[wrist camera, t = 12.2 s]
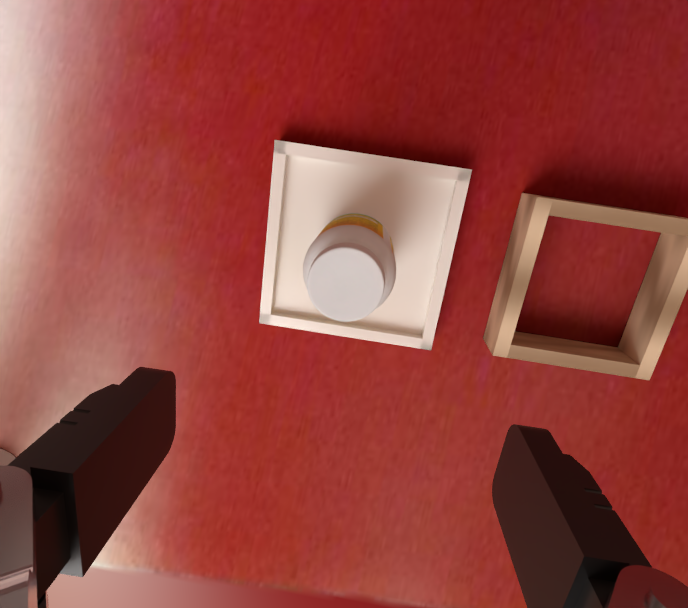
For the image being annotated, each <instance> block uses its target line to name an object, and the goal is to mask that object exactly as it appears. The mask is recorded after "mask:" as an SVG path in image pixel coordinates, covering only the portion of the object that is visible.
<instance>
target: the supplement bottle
mask: <svg viewBox="0 0 688 608" xmlns="http://www.w3.org/2000/svg"><path fill="white" fill-rule="evenodd" d="M303 277H304V282H305V285H306V288H307V290H308V294H309V297H310V299H311V301H312V303H313V305H314V306H315V307H316V308H317V309H318V310H319V311H320V312H321V313H322V314H323V315H325V316H327V317H328V318H331V319H333V320H337V321H342V322H350V321H356V320H359V319H362V318H364V317H366V316H368V315H369V314H370V313H372V312H373V311H374V310H375V309H377V308H378V307H379V306H380V305H382V304H383V303H384V302H385V300H386V299H387V298H388V296H389V295H390V293H391V291H392V289H393V287H394V283H395V279H396V262H395V256H394V249H393V243H392V240H391V237H390V235H389V233H388V231H387V229H386V228H385V227H384V226H383V225H382V224H381V223H380V222H379V221H378V220H376V219H375V218H373V217H370V216H368V215H364V214H359V213H349V214H344V215H341V216H339V217H337V218H335V219H333V220H332V221H331V222H329V223H328V224H327V225H326V226H325V228H324V229H323V230H322V231H321V233H320V234H319V235H318V236H317V238H316V239H315V240H314V241H313V243H312V244H311V245H310V247H309V249H308V251H307V253H306V256H305V259H304V263H303Z"/></svg>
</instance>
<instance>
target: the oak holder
mask: <svg viewBox="0 0 688 608" xmlns="http://www.w3.org/2000/svg"><path fill="white" fill-rule="evenodd" d="M548 215H551V216H557V217H564V218H570V219H577V220H583V221H590V222H596V223H603V224H609V225H616V226H623V227H629V228H636V229H642V230H649V231H655V232H661V235H660V237H659V240H658V243H657V245H656V248H655V250H654V253H653V256H652V258H651V261H650V264H649V266H648V269H647V272H646V274H645V277H644V280H643V282H642V285H641V287H640V290H639V293H638V295H637V298H636V301H635V303H634V306H633V309H632V311H631V314H630V317H629V319H628V322H627V324H626V327H625V330H624V332H623V335H622V338H621V340H620V343H619V346H618V347H612V346H606V345H599V344H593V343H587V342H580V341H574V340H568V339H561V338H555V337H549V336H542V335H536V334H530V333H523V332H517V331H515V329H516V325H517V322H518V318H519V315H520V311H521V308H522V304H523V301H524V298H525V294H526V291H527V287H528V284H529V280H530V277H531V274H532V270H533V267H534V263H535V260H536V256H537V253H538V250H539V246H540V243H541V239H542V236H543V232H544V229H545V226H546V222H547V219H548ZM687 289H688V218H684V217H678V216H671V215H665V214H658V213H652V212H645V211H638V210H632V209H625V208H619V207H612V206H605V205H599V204H592V203H586V202H579V201H573V200H566V199H559V198H553V197H546V196H540V195H533V194H527V193H522V195H521V199H520V202H519V206H518V210H517V214H516V217H515V221H514V225H513V229H512V232H511V236H510V240H509V244H508V247H507V251H506V255H505V259H504V262H503V266H502V270H501V274H500V277H499V281H498V285H497V288H496V292H495V296H494V300H493V303H492V307H491V311H490V315H489V318H488V322H487V326H486V330H485V333H484V337H483V339H484V341H485V343H486V344H487V346H488V348H489V350H490V351H491V353H492V355H494V356H500V357H506V358H513V359H519V360H525V361H531V362H538V363H544V364H550V365H557V366H563V367H569V368H575V369H582V370H588V371H594V372H601V373H607V374H613V375H620V376H626V377H632V378H638V379H645V380H650V378H651V375H652V373H653V371H654V368H655V366H656V363H657V361H658V358H659V356H660V354H661V351H662V349H663V346H664V344H665V342H666V339H667V337H668V334H669V332H670V330H671V327H672V325H673V322H674V320H675V318H676V315H677V313H678V310H679V308H680V306H681V303H682V301H683V298H684V296H685V293H686V291H687Z"/></svg>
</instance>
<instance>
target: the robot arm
mask: <svg viewBox="0 0 688 608" xmlns="http://www.w3.org/2000/svg"><path fill="white" fill-rule="evenodd" d="M175 428H176V379H175V375H174V373H173V372H171V371H165V370H159V369H152V368H145V367H139V368H137V369H136V370H135V371H134V372H133V373H132V374H131V375H130V376H128V377H127V378H126V379H125V380H124V381H123V382H122V383H121V384H120V385H115V384H112V385H109V386H107V387H105V388H103V389H101V390H99V391H96V392H94V393H92V394H90V395H89V396H88V397H86V398H85V399H84V400H83V401H82V402H81V403H79V404H78V405H77V406H76V407H75V408H74V410H73V411H70V412H69V413H68V414H67V415H65V416H64V417H63V418H62V419H61V420H60V423H56V424H55V425H54V426H53V427H51V428H50V429H49V430H48V431H47V432H46V433H44V434H43V435H42V436H41V437H40V438H39V439H37V440H36V441H35V442H34V443H33V444H32V445H30V446H29V447H28V448H27V449H26V450H25V451H23V452H22V453H21V454H20V455H19V456H18V457H16V458H15V459H14V460H13V461H12V462H11V463H9V464H8V465H7V466H0V608H48V595H47V589H48V588H49V586H50V585H51V584H52V582H53V581H54V580H55V578H56V577H57V575H58V574H59V573H61V574H66V575H72V576H79V577H83V576H84V575H85V573H86V572H87V570H88V569H89V567H90V566H91V564H92V563H93V562H94V560H95V559H96V557H97V556H98V554H99V553H100V551H101V550H102V548H103V547H104V546H105V544H106V543H107V541H108V540H109V538H110V537H111V535H112V534H113V532H114V531H115V530H116V528H117V527H118V525H119V524H120V522H121V521H122V519H123V518H124V516H125V515H126V513H127V512H128V511H129V509H130V508H131V506H132V505H133V503H134V502H135V500H136V499H137V497H138V496H139V495H140V493H141V492H142V490H143V489H144V487H145V486H146V484H147V483H148V481H149V480H150V479H151V477H152V476H153V474H154V473H155V471H156V470H157V468H158V467H159V465H160V464H161V463H162V461H163V460H164V458H165V457H166V455H167V454H168V452H169V450H170V448H171V445H172V442H173V439H174V435H175ZM492 496H493V503H494V507H495V510H496V513H497V516H498V519H499V523H500V526H501V529H502V532H503V535H504V538H505V541H506V544H507V547H508V550H509V553H510V556H511V559H512V562H513V565H514V568H515V571H516V574H517V577H518V580H519V583H520V586H521V589H522V593H523V596H524V599H525V602H526V605H527V608H688V587H687V586H686V585H684V584H683V583H682V582H680V581H679V580H677V579H675V578H674V577H672V576H670V575H668V574H666V573H664V572H662V571H659V570H657V569H654V568H652V566H651V565H650V563H649V562H648V560H647V559H646V557H645V556H644V554H643V553H642V551H641V550H640V548H639V547H638V545H637V544H636V542H635V541H634V539H633V538H632V536H631V535H630V533H629V532H628V530H627V528H626V527H625V525H624V524H623V522H622V521H621V519H620V518H619V516H618V515H617V513H616V512H615V511H613V510H612V506H611V504H610V503H609V501H608V500H607V498H606V497H605V495H603V494H602V490H601V489H600V487H599V486H598V484H597V483H596V481H595V480H594V478H593V477H592V475H591V474H590V472H589V471H588V470H586V469H585V468H584V467H583V466H582V465H581V464H580V463H578V462H577V461H576V460H575V459H574V458H573V457H572V456H570V455H567V454H563V453H562V451H561V450H560V448H559V447H558V445H557V443H556V442H555V440H554V438H553V437H552V435H551V433H550V432H549V431H548V430H546V429H542V428H535V427H528V426H522V425H515V424H513V425H512V426H511V427H510V428H509V430H508V432H507V436H506V439H505V442H504V445H503V449H502V452H501V455H500V459H499V462H498V465H497V468H496V472H495V475H494V479H493V486H492Z"/></svg>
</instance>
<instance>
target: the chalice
mask: <svg viewBox="0 0 688 608" xmlns="http://www.w3.org/2000/svg"><path fill="white" fill-rule="evenodd" d="M15 458H16V457H15V456H13V455H12V454H11V453H9V452H7V451H5V450H3V449H0V466H7V465H8V464H9V463H11V462H12V461H13V460H14V459H15Z"/></svg>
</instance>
